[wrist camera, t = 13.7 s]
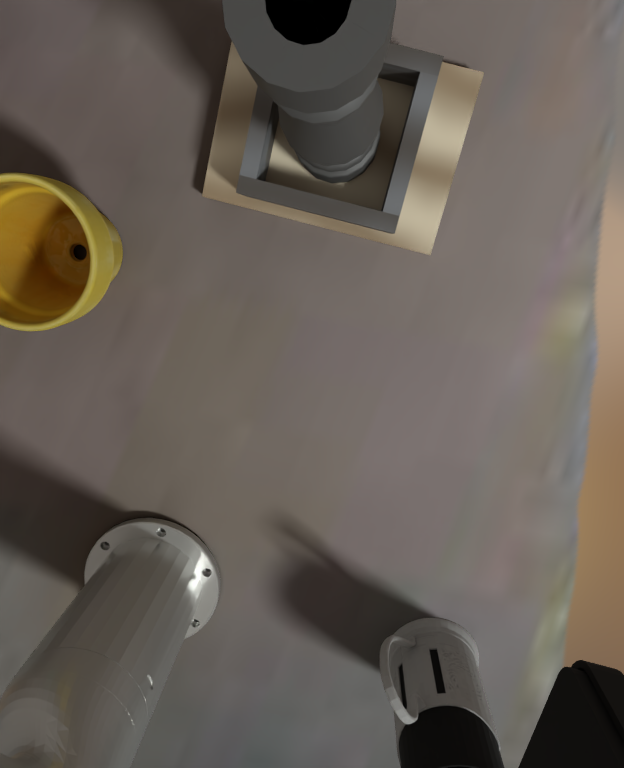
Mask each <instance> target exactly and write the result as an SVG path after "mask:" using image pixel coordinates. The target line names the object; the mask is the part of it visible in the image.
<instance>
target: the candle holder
mask: <svg viewBox="0 0 624 768" xmlns="http://www.w3.org/2000/svg"><path fill="white" fill-rule="evenodd" d="M222 4H223V13H224V22H225V28H226V30H227V32H228V34H229V36H230V38H231V40H232V42H233V44H234V46H235V48H236V50H237V52H238V54H239V56H240V58H241V60H242V61H243V63H244V65H245V66H246V68H247V69H248V71H249V73H250V74H251V76H252V78H253V79H254V81H255V82H256V84H257V86H259V87H260V88H261V89H262V90H263V91H264V92H265V93H267V94H268V95H269V96H270V97H271V98H272V99H273V101H274V102H275V103H276V104H277V105H278V111H279V121H280V127H281V129H282V131H283V133H284V135H285V137H286V139H287V141H288V143H289V145H290V146H291V147H292V148H293V149H294V151H295V153H296V155H297V157H298V159H299V161H300V162H301V164H302V165H303V167H304V168H305V169H306V170H307V171H308V172H310V173H311V174H312V175H313V176H314V177H315V178H317V179H319V180H323V181H326V182H329V183H342V182H349V181H351V180H352V179H354V178H356V177H358V176H359V175H361V174H363V173H364V172H365V170H366V169H367V168H368V167H369V165H370V164H371V163H372V162H373V160H374V157H375V154H376V151H377V148H378V144H379V140H380V125H381V121H382V118H383V114H384V111H383V95H382V89H381V87H380V85H379V83H378V81H377V78H378V74H379V73H380V71H381V70H382V66H383V63H384V60H385V57H386V53H387V50H388V47H389V44H390V40H391V35H392V29H393V22H394V15H395V9H396V0H222Z"/></svg>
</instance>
